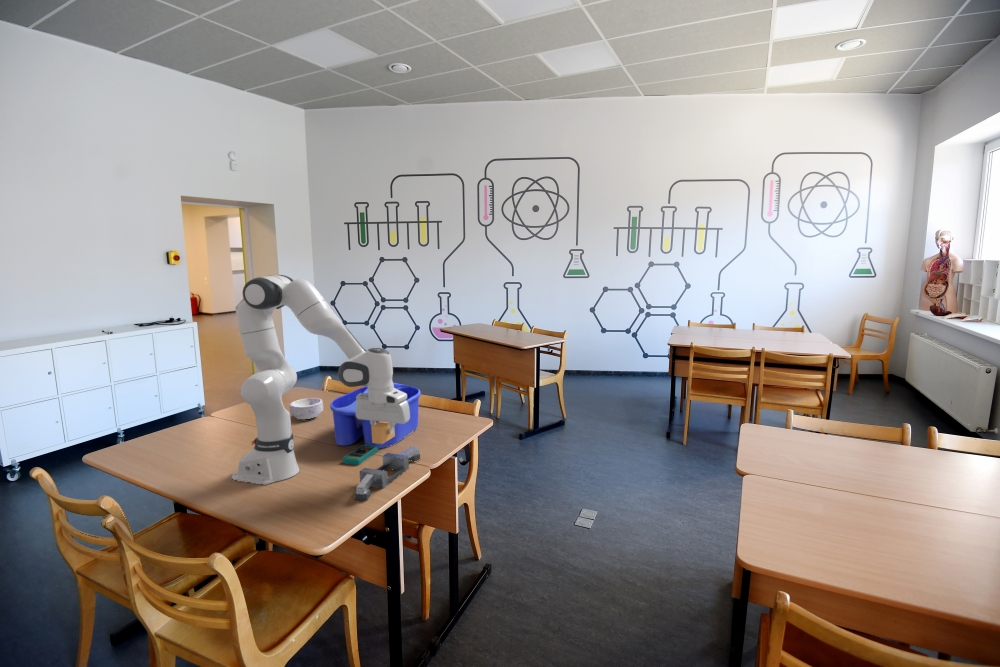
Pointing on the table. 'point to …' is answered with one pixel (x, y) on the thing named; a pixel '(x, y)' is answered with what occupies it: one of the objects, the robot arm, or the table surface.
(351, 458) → the digital multimeter
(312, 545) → the table surface
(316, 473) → the table surface
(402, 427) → the caddy
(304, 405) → the paper bowls
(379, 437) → the light orange rectangular block
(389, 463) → the grey long piece
